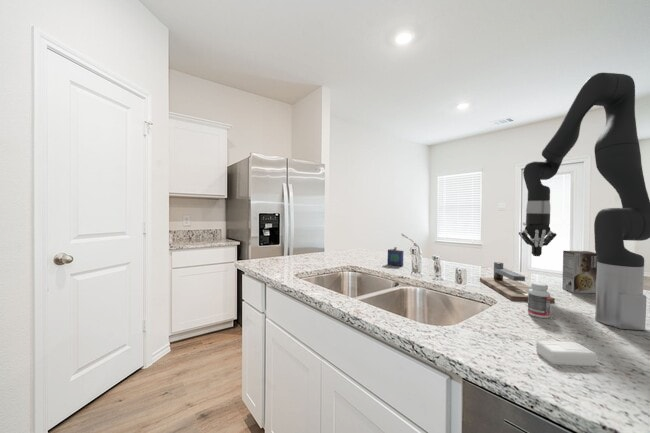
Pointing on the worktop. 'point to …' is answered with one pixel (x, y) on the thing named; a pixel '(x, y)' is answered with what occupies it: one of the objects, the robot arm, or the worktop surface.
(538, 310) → the pill bottle
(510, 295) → the label board
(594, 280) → the coffee box
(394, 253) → the flask
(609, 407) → the worktop surface
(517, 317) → the worktop surface
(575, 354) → the soap
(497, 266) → the swing arm
